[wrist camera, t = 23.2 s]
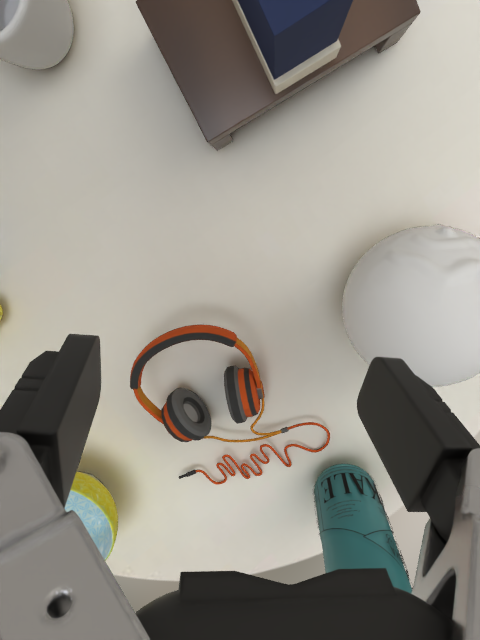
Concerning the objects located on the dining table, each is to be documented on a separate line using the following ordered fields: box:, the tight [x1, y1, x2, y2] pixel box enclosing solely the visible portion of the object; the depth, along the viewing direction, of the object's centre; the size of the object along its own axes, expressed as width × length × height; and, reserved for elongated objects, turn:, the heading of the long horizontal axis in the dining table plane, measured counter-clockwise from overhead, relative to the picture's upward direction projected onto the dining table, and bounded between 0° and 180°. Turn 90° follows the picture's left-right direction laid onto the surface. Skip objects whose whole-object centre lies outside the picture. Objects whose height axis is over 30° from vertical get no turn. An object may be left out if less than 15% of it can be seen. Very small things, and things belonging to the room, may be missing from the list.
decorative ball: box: [342, 224, 480, 387], centre depth 30 cm, size 12×12×12 cm
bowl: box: [65, 472, 118, 560], centre depth 42 cm, size 11×12×6 cm
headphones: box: [130, 325, 330, 484], centre depth 38 cm, size 17×5×20 cm
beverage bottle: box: [313, 464, 413, 593], centre depth 32 cm, size 6×7×20 cm
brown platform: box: [136, 0, 420, 151], centre depth 28 cm, size 16×10×5 cm, turn 118°
